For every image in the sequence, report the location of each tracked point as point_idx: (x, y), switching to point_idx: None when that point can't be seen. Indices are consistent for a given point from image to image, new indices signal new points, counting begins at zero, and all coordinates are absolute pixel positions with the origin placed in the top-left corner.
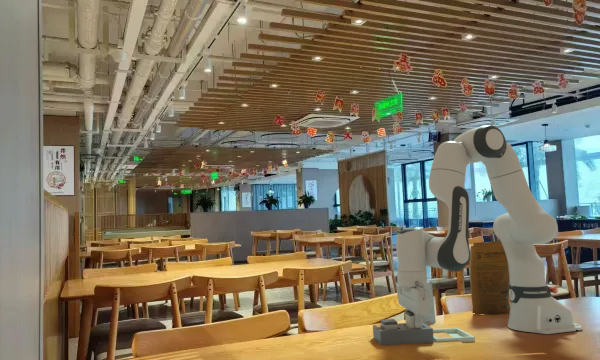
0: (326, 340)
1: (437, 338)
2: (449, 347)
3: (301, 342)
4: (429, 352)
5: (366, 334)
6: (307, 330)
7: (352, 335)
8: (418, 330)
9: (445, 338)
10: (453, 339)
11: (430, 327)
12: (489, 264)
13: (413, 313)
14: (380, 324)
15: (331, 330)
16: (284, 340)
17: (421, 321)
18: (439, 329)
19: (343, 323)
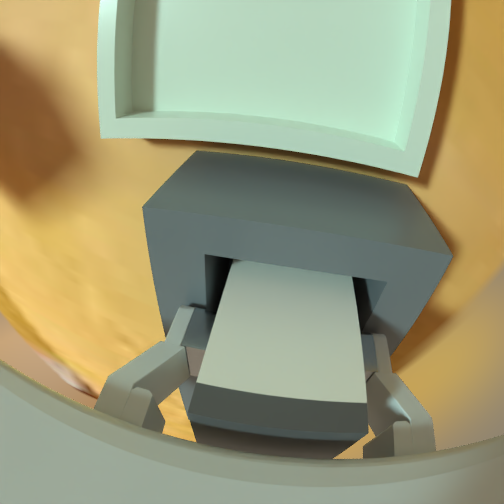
0: (177, 412)
1: (409, 157)
2: (473, 120)
3: (189, 432)
4: (473, 268)
5: (104, 336)
6: (86, 392)
7: (121, 365)
8: (396, 341)
9: (436, 102)
10: (441, 38)
11: (409, 252)
12: None
13: (331, 456)
14: (185, 407)
15: (75, 368)
16: (170, 435)
17: (357, 350)
18: (115, 2)
19: (5, 315)
